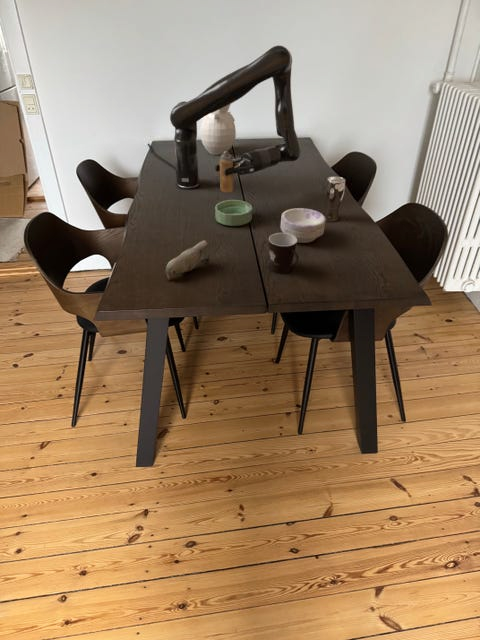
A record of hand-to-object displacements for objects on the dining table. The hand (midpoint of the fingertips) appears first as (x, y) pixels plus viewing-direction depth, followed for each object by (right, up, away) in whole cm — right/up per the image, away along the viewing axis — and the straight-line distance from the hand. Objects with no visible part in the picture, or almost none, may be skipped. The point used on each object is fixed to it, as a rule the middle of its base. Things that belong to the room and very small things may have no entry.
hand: (220, 170), depth 154 cm
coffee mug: (+20, -38, -19) cm, 47 cm away
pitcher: (-5, +36, +74) cm, 82 cm away
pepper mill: (+2, -5, +6) cm, 8 cm away
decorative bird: (-9, -38, -20) cm, 44 cm away
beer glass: (+42, -15, +11) cm, 46 cm away
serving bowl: (+5, -15, +9) cm, 19 cm away
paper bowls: (+29, -24, -2) cm, 38 cm away
